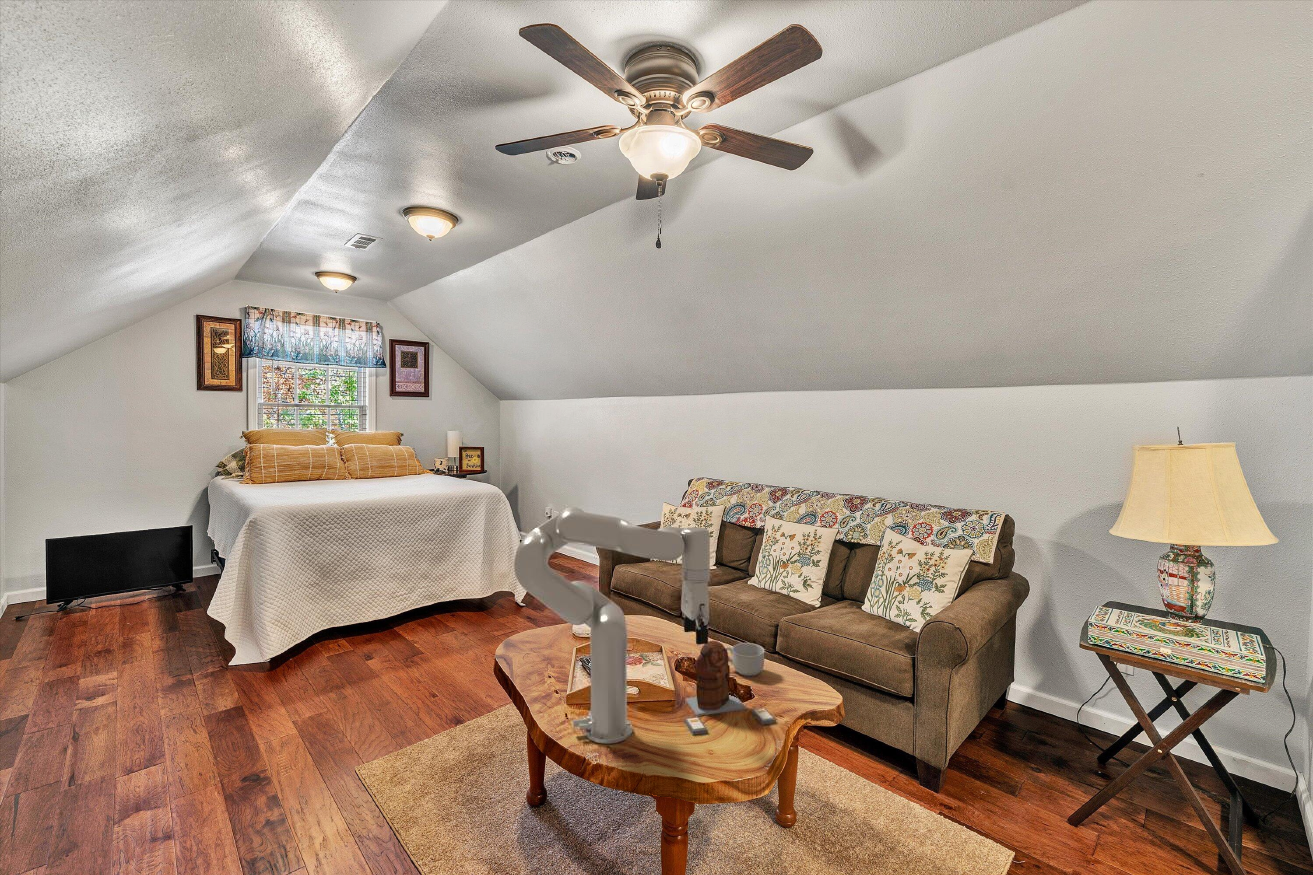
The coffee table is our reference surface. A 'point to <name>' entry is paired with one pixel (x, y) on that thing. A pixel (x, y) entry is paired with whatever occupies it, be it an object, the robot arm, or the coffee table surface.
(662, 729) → the coffee table surface
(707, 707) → the wooden figurine
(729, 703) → the mat
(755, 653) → the teacup
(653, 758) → the coffee table surface
